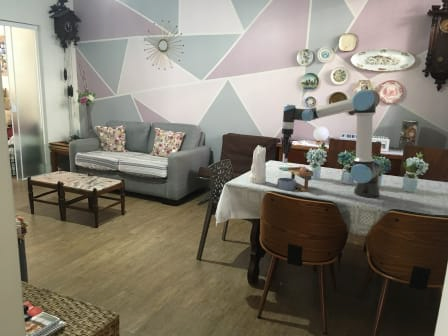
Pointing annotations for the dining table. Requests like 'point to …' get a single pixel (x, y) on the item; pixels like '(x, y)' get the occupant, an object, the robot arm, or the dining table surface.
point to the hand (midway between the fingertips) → (284, 162)
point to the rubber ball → (303, 169)
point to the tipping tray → (298, 171)
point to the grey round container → (286, 183)
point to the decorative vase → (258, 166)
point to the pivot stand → (301, 187)
